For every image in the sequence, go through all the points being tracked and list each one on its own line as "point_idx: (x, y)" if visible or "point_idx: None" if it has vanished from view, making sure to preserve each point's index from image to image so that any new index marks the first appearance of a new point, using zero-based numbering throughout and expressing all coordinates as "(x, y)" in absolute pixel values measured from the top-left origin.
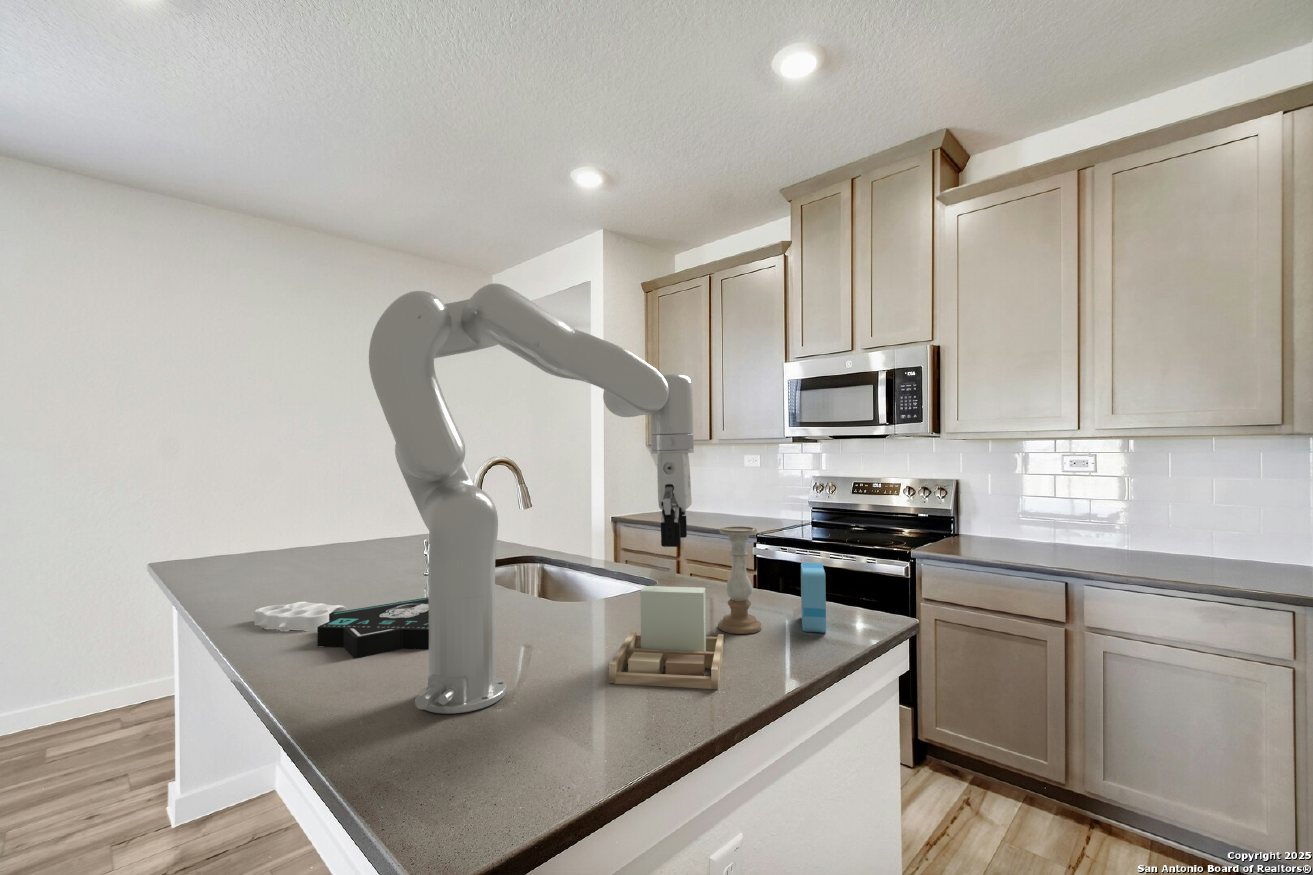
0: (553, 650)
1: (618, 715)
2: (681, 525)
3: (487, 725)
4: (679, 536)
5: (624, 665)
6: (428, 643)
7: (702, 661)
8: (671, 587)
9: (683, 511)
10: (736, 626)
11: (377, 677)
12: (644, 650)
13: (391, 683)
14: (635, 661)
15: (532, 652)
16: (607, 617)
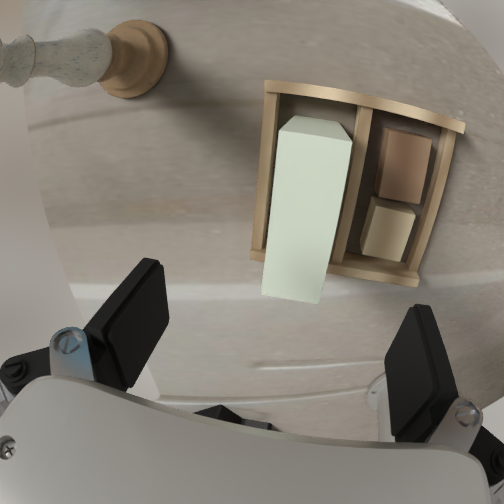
0: (274, 341)
1: (496, 257)
2: (139, 315)
3: (470, 358)
4: (440, 336)
5: (358, 256)
6: (270, 429)
7: (420, 139)
8: (277, 230)
9: (92, 363)
10: (155, 59)
11: (341, 436)
12: (347, 235)
13: (357, 428)
14: (403, 250)
15: (282, 359)
16: (119, 280)
